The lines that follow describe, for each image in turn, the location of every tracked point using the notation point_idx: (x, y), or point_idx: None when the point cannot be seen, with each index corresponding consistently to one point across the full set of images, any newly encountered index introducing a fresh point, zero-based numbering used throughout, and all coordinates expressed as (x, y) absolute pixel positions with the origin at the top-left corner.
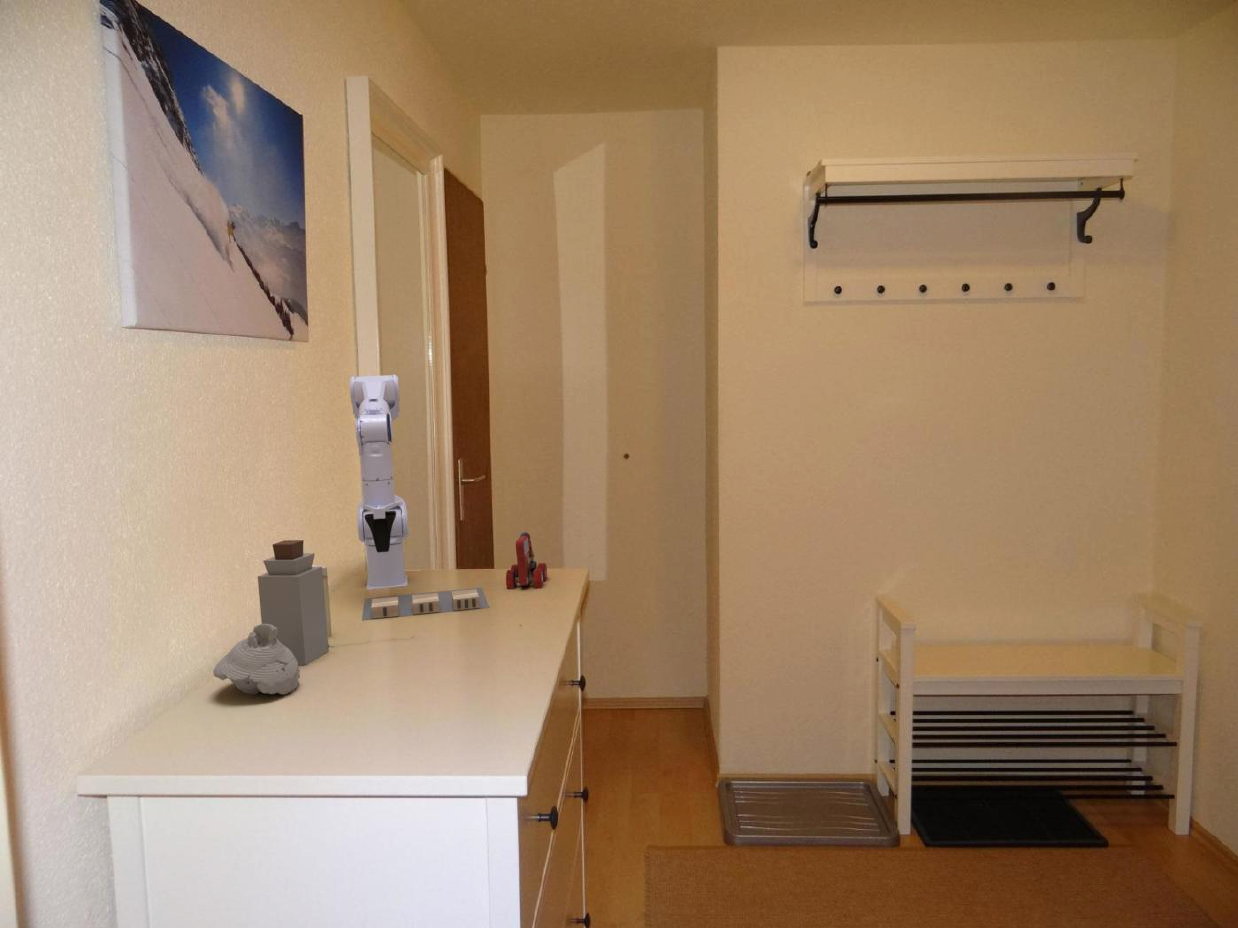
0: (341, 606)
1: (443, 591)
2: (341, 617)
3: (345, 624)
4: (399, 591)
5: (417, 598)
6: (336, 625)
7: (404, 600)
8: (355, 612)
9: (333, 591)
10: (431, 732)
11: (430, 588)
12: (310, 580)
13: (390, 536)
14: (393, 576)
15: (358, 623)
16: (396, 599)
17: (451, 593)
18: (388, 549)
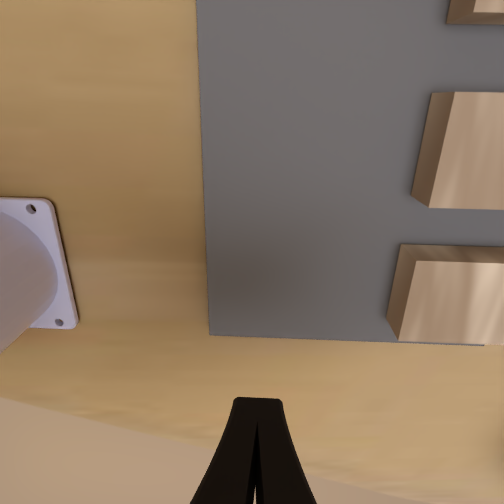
0: (241, 382)
1: (205, 52)
2: (367, 382)
3: (452, 374)
4: (99, 227)
5: (502, 188)
6: (447, 392)
7: (294, 220)
8: (331, 352)
9: (51, 399)
10: None
11: (77, 107)
12: None
13: (306, 490)
14: (23, 262)
15: (464, 346)
16: (460, 267)
17: (469, 14)
18: (282, 409)
